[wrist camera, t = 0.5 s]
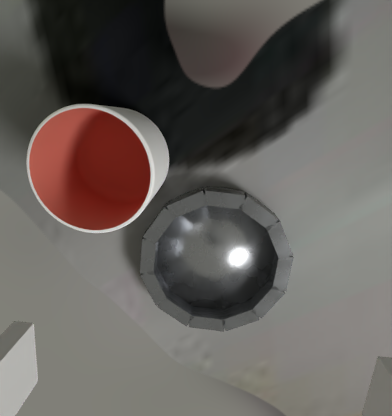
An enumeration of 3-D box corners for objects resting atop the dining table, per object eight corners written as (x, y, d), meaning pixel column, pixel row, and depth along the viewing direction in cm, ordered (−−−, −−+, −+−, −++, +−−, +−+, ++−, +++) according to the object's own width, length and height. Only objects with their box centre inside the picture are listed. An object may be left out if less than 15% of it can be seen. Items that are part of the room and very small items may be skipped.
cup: (83, 202, 36) (35, 233, 26) (72, 108, 33) (15, 104, 23) (172, 202, 35) (157, 233, 25) (169, 107, 32) (151, 102, 23)
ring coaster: (150, 178, 34) (145, 183, 32) (298, 196, 34) (304, 202, 32) (141, 307, 39) (136, 320, 36) (272, 323, 38) (276, 338, 36)
